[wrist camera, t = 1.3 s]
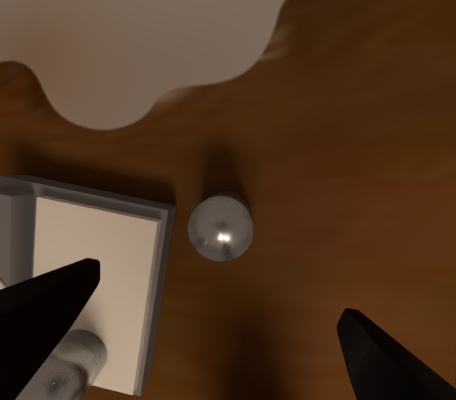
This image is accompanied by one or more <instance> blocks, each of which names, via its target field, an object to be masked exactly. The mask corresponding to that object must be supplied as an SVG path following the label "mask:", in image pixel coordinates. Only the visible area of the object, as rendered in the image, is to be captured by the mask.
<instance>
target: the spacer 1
mask: <svg viewBox="0 0 456 400" xmlns="http://www.w3.org/2000/svg"><path fill="white" fill-rule="evenodd" d="M107 356H108V355H107V349H106V347H105V345H104V343H103V342H102V340H101V339H100V338H99V337H98V336H97V335H95V334H94V333H92V332H90V331H87V330H82V329H75V330H71V331H69V332H67V333H66V335H65V336H64V337H63V339H62V340H61V341H60V343H59V344H58V345H57V346H56V348H55V349H54V350H53V352H52V353H51V354H50V355H49V357H48V358H47V359H46V361H45V362H44V363H43V364H42V366H41V367H40V368H39V370H38V371H37V372H36V374H35V375H34V376H33V377H32V379H31V380H30V381H29V383H28V384H27V385H26V386H25V388H24V389H23V390H22V392H21V393H20V394H19V395H18V397H17V398H16V399H15V400H81V399H82V397H83V396H84V395H85V393H86V392H87V390H88V389H89V388H90V386H91V385H92V383H93V382H94V380H95V379H96V378H97V376H98V375H99V373H100V372H101V370H102V369H103V368H104V366H105V364H106V362H107Z"/></svg>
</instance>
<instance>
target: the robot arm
mask: <svg viewBox="0 0 456 400" xmlns="http://www.w3.org/2000/svg"><path fill="white" fill-rule="evenodd" d="M99 282H100V261H99V260H97V259H92V258H85V259H82V260H80V261H77V262H74V263H71V264H69V265H66V266H63V267H61V268H58V269H55V270H52V271H50V272H47V273H44V274H41V275H39V276H36V277H33V278H31V279H28V280H25V281H22V282H20V283H17V284H14V285H11V286H9V287H6V288H3V289H0V400H15V399H16V398H17V397H18V395H19V394H20V393H21V392H22V390H23V389H24V388H25V386H26V385H27V384H28V383H29V381H30V380H31V379H32V377H33V376H34V375H35V374H36V372H37V371H38V370H39V368H40V367H41V366H42V364H43V363H44V362H45V361H46V359H47V358H48V357H49V355H50V354H51V353H52V352H53V350H54V349H55V348H56V346H57V345H58V344H59V343H60V341H61V340H62V339H63V337H64V336H65V335H66V333H67V332H68V331H69V329H70V328H71V327H72V325H73V324H74V322H75V321H76V319H77V318H78V316H79V315H80V313H81V311H82V310H83V308H84V307H85V305H86V304H87V302H88V300H89V299H90V297H91V296H92V294H93V293H94V291H95V290H96V288H97V286H98V285H99ZM337 333H338V337H339V341H340V344H341V348H342V352H343V356H344V359H345V363H346V367H347V371H348V374H349V378H350V381H351V384H352V387H353V390H354V393H355V396H356V398H357V400H456V389H455V388H454V387H453V386H452V385H450V384H449V383H448V382H447V381H445V380H444V379H443V378H442V377H440V376H439V375H438V374H437V373H435V372H434V371H433V370H432V369H430V368H429V367H428V366H427V365H426V364H424V363H423V362H422V361H421V360H419V359H418V358H417V357H416V356H414V355H413V354H412V353H411V352H409V351H408V350H407V349H406V348H405V347H403V346H402V345H401V344H400V343H398V342H397V341H396V340H395V339H393V338H392V337H391V336H390V335H388V334H387V333H386V332H385V331H384V330H382V329H381V328H380V327H379V326H377V325H376V324H375V323H374V322H372V321H371V320H370V319H369V318H367V317H366V316H365V315H364V314H363V313H361V312H360V311H358V310H356V309H351V308H346V309H345V310H344V311H343V313H342V315H341V317H340V320H339V322H338V324H337Z"/></svg>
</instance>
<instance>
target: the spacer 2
mask: <svg viewBox="0 0 456 400" xmlns="http://www.w3.org/2000/svg"><path fill="white" fill-rule="evenodd" d="M188 235H189V238H190V241H191V243H192V245H193V247H194V248H195V249H196V250H197V251H198V252H199V253H200V254H201V255H203V256H204V257H206V258H208V259H211V260H214V261H229V260H232V259H235V258H237V257H239V256H240V255H242V254H243V253H244V252H245V251H246V250H247V248H248V247H249V245H250V243H251V241H252V238H253V221H252V216H251V210H250V207H249V205H248V203H247V201H246V200H245V199H244V198H243V197H242V196H241V195H239V194H238V193H235V192H232V191H219V192H216V193H214V194H212V195H211V196H209V197H208V198H207V199H206V200H204V201H203V202H202V203H201V204H199V205H198V206H197V207H196V208H195V209H194V211H193V212H192V214H191V216H190V219H189V222H188Z"/></svg>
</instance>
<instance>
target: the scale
mask: <svg viewBox="0 0 456 400" xmlns="http://www.w3.org/2000/svg"><path fill="white" fill-rule="evenodd" d="M176 207H177V206H176V205H171V204H166V203H161V202H156V201H151V200H147V199H142V198H137V197H132V196H127V195H122V194H117V193H112V192H108V191H103V190H98V189H93V188H88V187H83V186H78V185H74V184H69V183H64V182H59V181H54V180H49V179H44V178H40V177H35V176H30V175H0V289H3V288H6V287H9V286H11V285H14V284H17V283H20V282H22V281H25V280H28V279H31V278H33V277H36V276H39V275H41V274H44V273H47V272H50V271H52V270H55V269H58V268H61V267H63V266H66V265H69V264H71V263H74V262H77V261H80V260H82V259H85V258H92V259H97V260H99V261H100V282H99V285H98V286H97V288H96V290H95V291H94V293H93V294H92V296H91V297H90V299H89V300H88V302H87V304H86V305H85V307H84V308H83V310H82V311H81V313H80V315H79V316H78V318H77V319H76V321H75V322H74V324H73V325H72V327H71V328H70V329H69V331H71V330H75V329H82V330H87V331H90V332H92V333H94V334H95V335H97V336H98V337H99V338H100V339H101V340H102V342H103V343H104V345H105V347H106V349H107V355H108V356H107V362H106V364H105V366H104V368H103V369H102V370H101V372H100V373H99V375H98V376H97V378H96V379H95V380H94V382H93V383H92V385H94V386H98V387H102V388H106V389H110V390H114V391H118V392H122V393H126V394H130V395H133V394H134V395H138V396H141V394H142V391H143V389H144V387H145V385H146V383H147V380H148V378H149V376H150V373H151V367H152V360H153V354H154V348H155V341H156V335H157V328H158V322H159V316H160V309H161V303H162V296H163V290H164V284H165V277H166V271H167V264H168V258H169V251H170V245H171V239H172V232H173V226H174V219H175V213H176ZM69 331H68V332H69Z"/></svg>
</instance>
